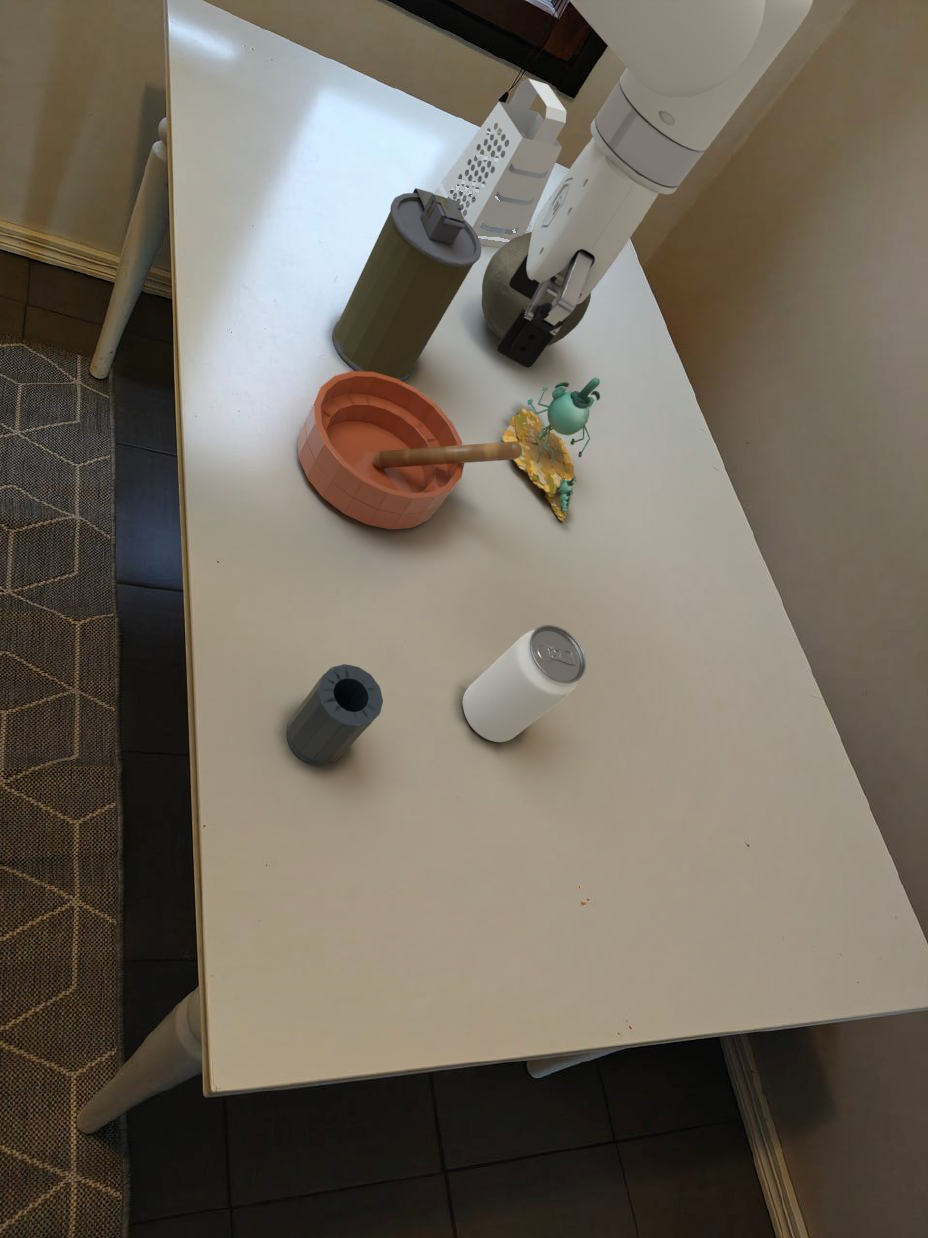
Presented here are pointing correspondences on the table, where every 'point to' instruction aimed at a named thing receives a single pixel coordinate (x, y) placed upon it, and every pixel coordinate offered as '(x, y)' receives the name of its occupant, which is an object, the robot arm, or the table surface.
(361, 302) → the canister
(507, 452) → the stick
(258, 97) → the table surface
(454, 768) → the table surface
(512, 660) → the can
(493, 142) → the grater
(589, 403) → the insect on leaf figurine
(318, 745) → the utensil pot
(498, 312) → the cantaloupe
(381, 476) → the bowl
